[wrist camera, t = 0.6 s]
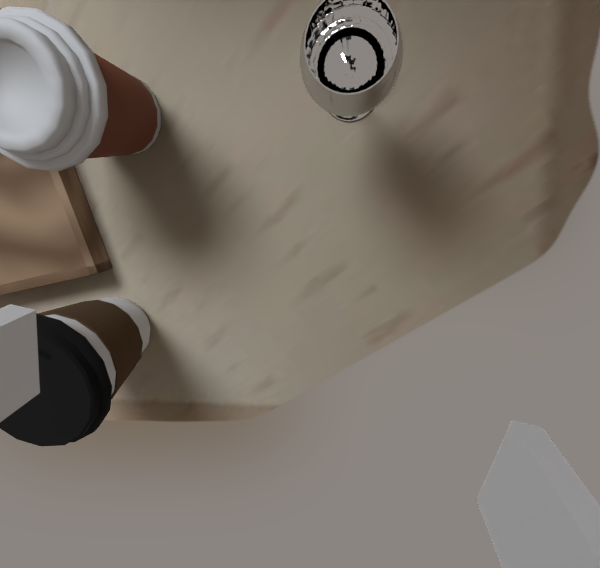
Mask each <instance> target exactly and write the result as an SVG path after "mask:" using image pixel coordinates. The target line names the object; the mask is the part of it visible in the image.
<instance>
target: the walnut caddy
mask: <svg viewBox="0 0 600 568" xmlns="http://www.w3.org/2000/svg"><path fill="white" fill-rule="evenodd" d="M0 10H1V9H0ZM110 268H112V266H111V264H110V261H109V258H108V256H107V253H106V250H105V248H104V245H103V242H102V240H101V237H100V234H99V232H98V229H97V226H96V224H95V221H94V218H93V216H92V213H91V210H90V208H89V205H88V203H87V200H86V197H85V195H84V192H83V189H82V187H81V184H80V181H79V179H78V176H77V173H76V171H75V168H74V166H72V167H69V168H67V169H64V170H61V171H49V170H39V169H30V168H26V167H25V166H23V165H21V164H19V163H17V162H15V161H14V160H12V159H10V158H8V157H6V156H4V155H3V154H1V153H0V295H3V294H8V293H12V292H17V291H21V290H26V289H30V288H35V287H39V286H44V285H48V284H53V283H57V282H62V281H66V280H71V279H75V278H80V277H84V276H89V275H93V274H98V273H100V272H103V271H105V270H108V269H110Z"/></svg>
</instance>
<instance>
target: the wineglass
mask: <svg viewBox="0 0 600 568" xmlns="http://www.w3.org/2000/svg"><path fill="white" fill-rule="evenodd" d="M402 57H403V41H402V34H401V31H400V27H399V24H398V21H397V19H396V17H395V14H394V12H393V10H392V9H391V7H390V6H389V4H388V3H387V2H386V1H385V0H323V1H321V3H320V4H319V5H318V6H317V8H316V9H315V10H314V11H313V13H312V15H311V17H310V19H309V20H308V23H307V25H306V28H305V31H304V33H303V37H302V41H301V47H300V69H301V74H302V79H303V82H304V85H305V87H306V89H307V91H308V93H309V94H310V96H311V98H312V99H313V100H314V101H315V102H316V103H317V104H318V105H319V106H320V107H321V108H323V109H324V110H326V111H328V112H329V113H330V114H331V115H332V116H334V117H335V118H337V119H339V120H343V121H355V120H359V119H361V118H362V117H364V116H366V115H367V114H368V113H369V112H370V111H371V110H372V109H374V108H375V107H377V106H378V105H379V104H381V103H382V102H383V101H384V100H385V98H386V97H387V96H388V95H389V94H390V92H391V90H392V89H393V87H394V86H395V84H396V81H397V79H398V76H399V73H400V70H401V66H402Z"/></svg>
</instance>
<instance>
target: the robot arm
mask: <svg viewBox="0 0 600 568" xmlns="http://www.w3.org/2000/svg"><path fill="white" fill-rule="evenodd" d="M39 393H40V383H39V363H38V342H37V322H36V310H34V309H29V308H25V307H21V306H16V305H12V304H9V305H7V306H5V307H2V308H0V422H1V421H3V420H4V419H5V418H7V417H8V416H9V415H11V414H12V413H13V412H15V411H16V410H18V409H19V408H20V407H22V406H23V405H24V404H26V403H27V402H28V401H30V400H31V399H32V398H34V397H35V396H36V395H38V394H39ZM476 500H477V503H478V505H479V508H480V511H481V514H482V516H483V519H484V522H485V524H486V527H487V530H488V532H489V535H490V537H491V540H492V543H493V545H494V548H495V551H496V553H497V556H498V559H499V561H500V564H501V567H502V568H600V506H599V504H598V503H597V502H596V500H595V499H594V498H593V496H592V495H591V493H590V492H589V491H588V489H587V488H586V487H585V485H584V484H583V483H582V481H581V480H580V479H579V477H578V476H577V474H576V473H575V471H574V470H573V469H572V467H571V466H570V465H569V463H568V462H567V461H566V459H565V458H564V456H563V455H562V454H561V452H560V451H559V450H558V448H557V447H556V446H555V444H554V443H553V441H552V440H551V439H550V437H549V436H548V435H547V433H546V432H545V430H544V429H543V428H542V427H540V426H536V425H532V424H527V423H523V422H518V421H514V420H512V421H511V423H510V425H509V427H508V430H507V432H506V434H505V436H504V439H503V441H502V443H501V446H500V448H499V450H498V452H497V454H496V457H495V459H494V461H493V464H492V465H491V468H490V470H489V472H488V474H487V477H486V479H485V481H484V484H483V486H482V488H481V490H480V492H479V495H478V497H477V499H476Z"/></svg>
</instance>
